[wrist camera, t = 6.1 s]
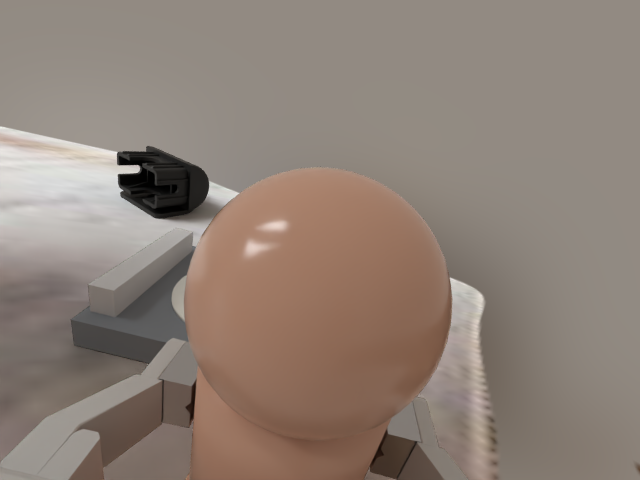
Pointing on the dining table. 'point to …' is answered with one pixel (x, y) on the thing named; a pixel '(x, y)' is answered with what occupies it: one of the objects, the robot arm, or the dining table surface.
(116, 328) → the display plinth
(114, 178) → the dining table surface
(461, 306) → the dining table surface
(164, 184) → the end cap
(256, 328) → the ball-topped peg
